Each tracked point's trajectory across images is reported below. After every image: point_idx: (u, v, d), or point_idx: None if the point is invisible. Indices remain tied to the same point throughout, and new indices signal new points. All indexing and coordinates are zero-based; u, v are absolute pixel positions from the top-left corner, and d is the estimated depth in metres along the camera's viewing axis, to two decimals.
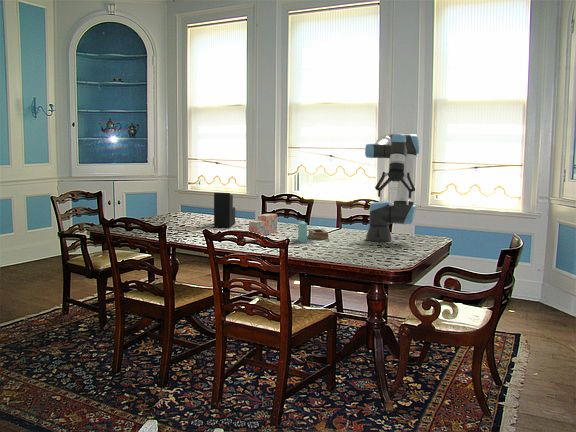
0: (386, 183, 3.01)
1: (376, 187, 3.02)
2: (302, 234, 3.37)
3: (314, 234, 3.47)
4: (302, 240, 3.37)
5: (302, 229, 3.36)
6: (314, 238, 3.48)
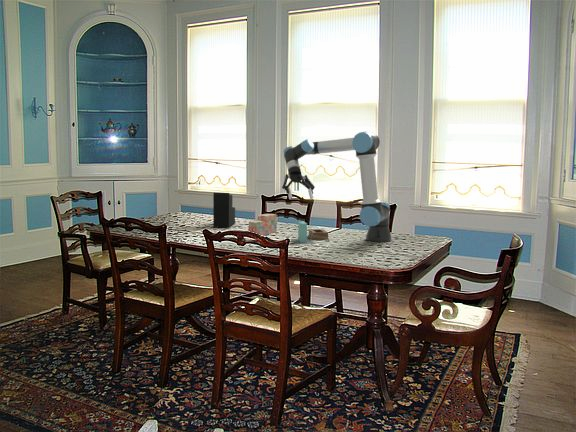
0: None
1: None
2: (302, 234, 3.37)
3: (314, 234, 3.47)
4: (302, 240, 3.37)
5: (302, 229, 3.36)
6: (314, 238, 3.48)
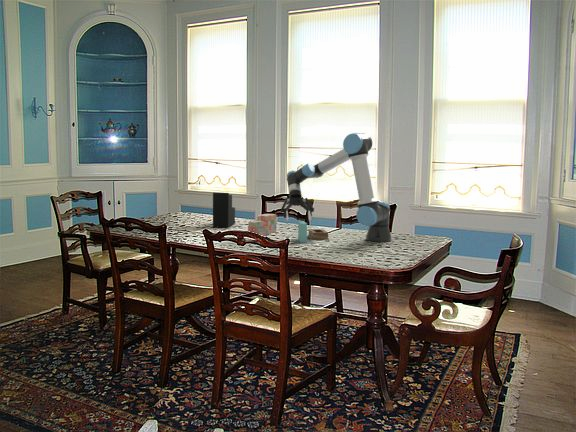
0: None
1: None
2: (302, 234, 3.37)
3: (314, 234, 3.47)
4: (302, 240, 3.37)
5: (302, 229, 3.36)
6: (314, 238, 3.48)
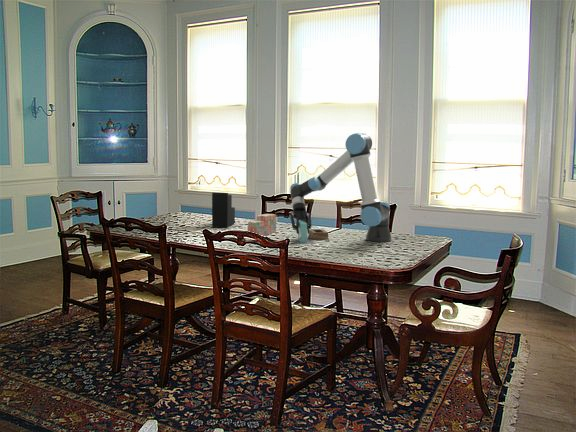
0: None
1: None
2: (302, 234, 3.37)
3: (314, 234, 3.47)
4: (302, 240, 3.37)
5: (302, 229, 3.36)
6: (314, 238, 3.48)
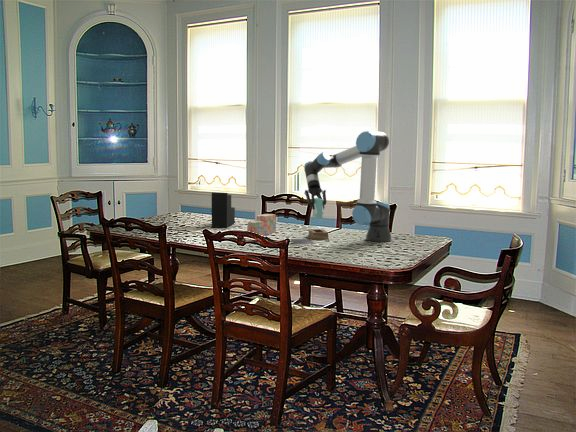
0: None
1: None
2: (318, 210, 3.47)
3: (314, 234, 3.47)
4: (318, 215, 3.48)
5: (318, 205, 3.47)
6: (314, 238, 3.48)
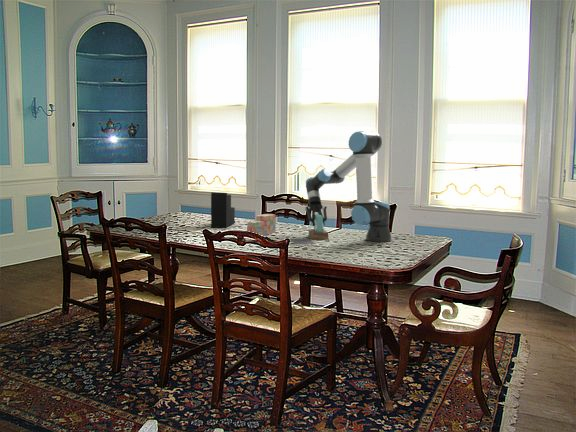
0: None
1: (324, 220, 3.57)
2: (318, 226, 3.50)
3: (314, 234, 3.47)
4: None
5: (318, 222, 3.49)
6: (314, 238, 3.48)
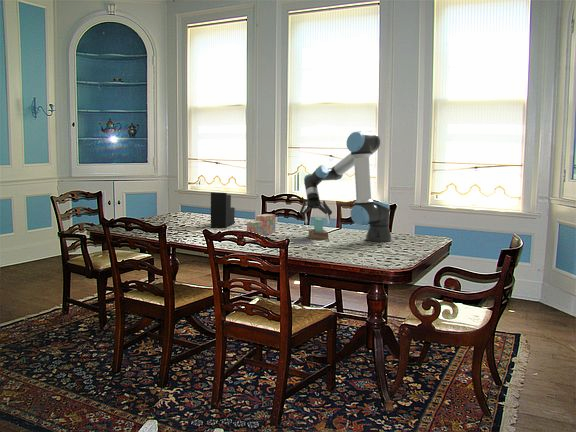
0: None
1: None
2: (318, 230, 3.50)
3: (314, 234, 3.47)
4: None
5: (318, 225, 3.50)
6: (314, 238, 3.48)
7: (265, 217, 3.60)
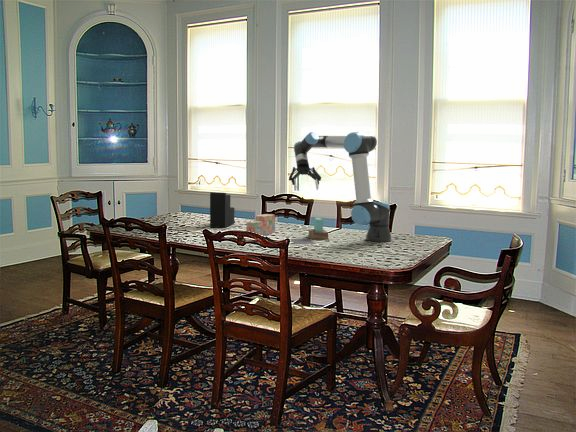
0: None
1: None
2: (318, 230, 3.50)
3: (314, 234, 3.47)
4: None
5: (318, 225, 3.50)
6: (314, 238, 3.48)
7: (265, 217, 3.59)
